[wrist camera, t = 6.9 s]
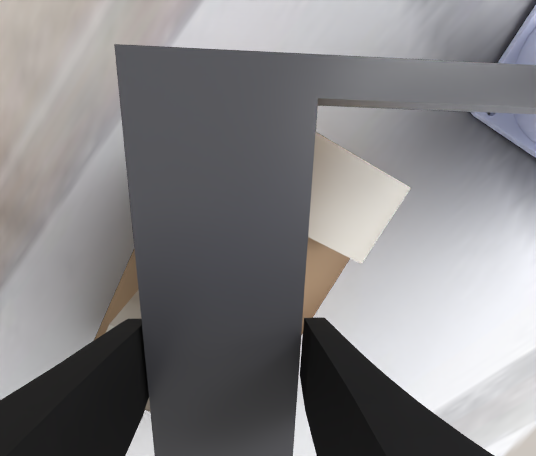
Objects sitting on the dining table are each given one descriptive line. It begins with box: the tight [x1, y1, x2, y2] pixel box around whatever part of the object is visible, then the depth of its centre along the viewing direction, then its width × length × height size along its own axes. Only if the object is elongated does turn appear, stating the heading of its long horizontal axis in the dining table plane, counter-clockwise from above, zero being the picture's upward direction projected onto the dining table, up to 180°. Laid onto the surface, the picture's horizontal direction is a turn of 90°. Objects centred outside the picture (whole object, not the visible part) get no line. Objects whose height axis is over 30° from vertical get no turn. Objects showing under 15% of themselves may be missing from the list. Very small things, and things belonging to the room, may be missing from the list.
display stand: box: [94, 132, 411, 412], centre depth 12 cm, size 10×15×7 cm, turn 152°
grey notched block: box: [114, 44, 536, 456], centre depth 9 cm, size 10×15×4 cm, turn 178°
